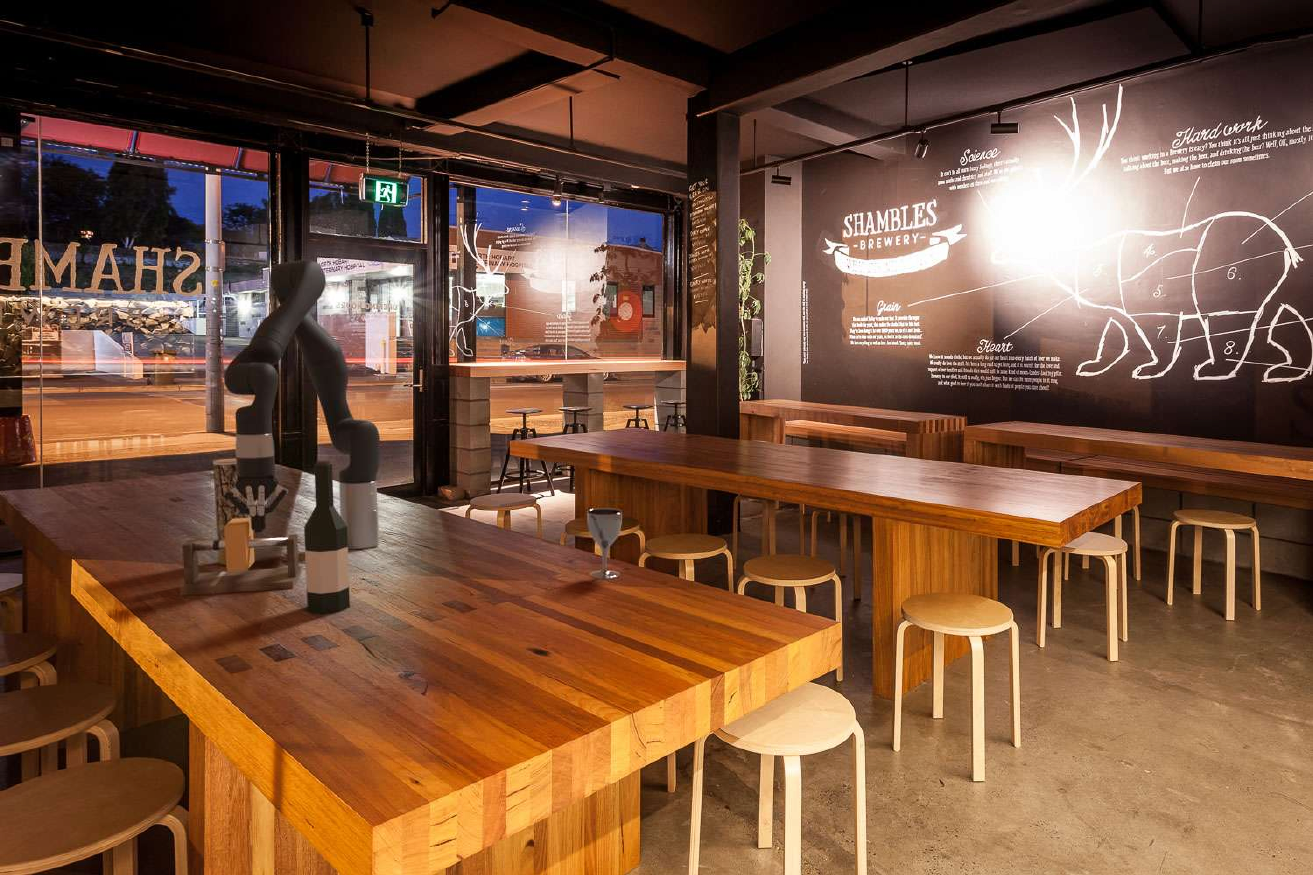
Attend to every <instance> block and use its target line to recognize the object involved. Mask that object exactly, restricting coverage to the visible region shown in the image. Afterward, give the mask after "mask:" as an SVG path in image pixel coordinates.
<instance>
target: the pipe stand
mask: <svg viewBox="0 0 1313 875" xmlns="http://www.w3.org/2000/svg"><path fill="white" fill-rule="evenodd" d="M298 541H299V540H298V534H289V536H287V537H285V536H284V537H264V538H253V539H248V548H254V549H259V548H260V549H262V548H277V547H278V548H280V547H286V561H287V567H279V568H266V569H265V568H263V569H248V570H247V571H232V572H227V570H226V571H216V572H215V571H212V572H210V571H209V572H199V559H198V558H199V555H198V552H203V551H216V552H217V551H218V550H226V549H225V540H223V541H220V540H217V539H216V540H206V541H205V540H204V541H203V540H202V541H198V539H188V540H187V541H186V542H184V543H183V544H182V559H183V560H182V561H183V562H182V563H183V578H184V584H183V585H182V586H181V587H180V588H179V592H180V593H179V595H180V596H192V595H193V596H194V595H209V594H225V593H237V592H239V593H240V592H241V593H242V592H254V591H271V590H272V591H273V590H286V589H294V587H295V585H296V584H297V582H298V580H299V578H300V577H301V575H302V567H301V566H299V564H300V563H299V549H298V548H299V546H298V545H299V544H298V543H299V542H298ZM299 576H300V577H299Z"/></svg>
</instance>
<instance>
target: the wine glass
mask: <svg viewBox="0 0 1313 875" xmlns="http://www.w3.org/2000/svg"><path fill="white" fill-rule="evenodd" d="M622 520H623V511H622V510H621V509H618V508H614V507H612V508H611V507H596V508H592V509H589V510H587V526H588V527H587V528H588V531H589V534H590V536H591V538H592V539H593V540H594V542H595V543H596V544H597V545H598V546H599V548H600V551H601V554H602V569H601V570H596V571H592V572H590V573H589V577H591V578H592V579H593V578H594V579H598V580H610V579H616V578H618V577H620V575H621V574H620V572H618V571H616V570H609V569H607V568H608V567H607V560H608V559H607V558H608V552H609V549H610V547H611V545H612V544H614V542H615V541H616V540H617V539H618V537H619V536H620V533H621V529H622V528H621V527H622V525H623V524H622V523H623V521H622Z"/></svg>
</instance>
